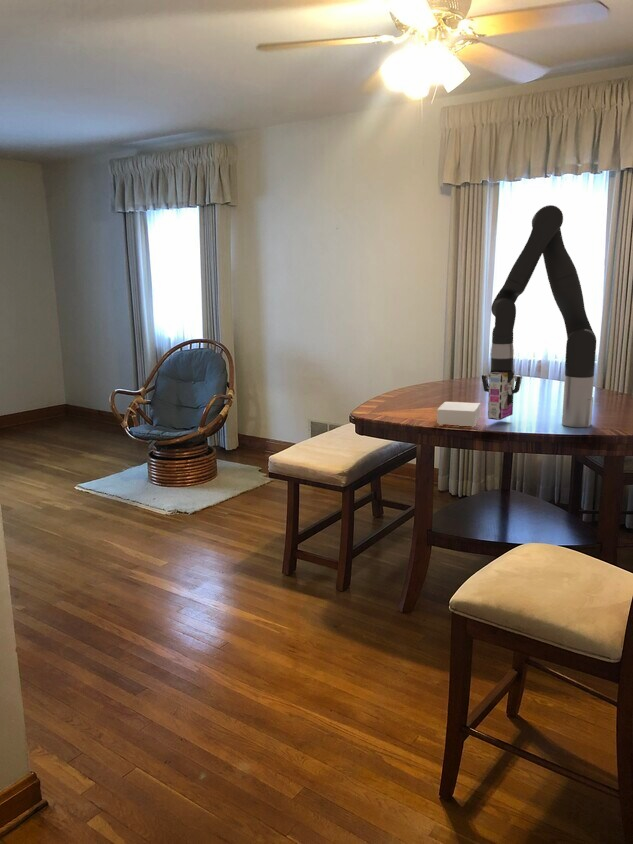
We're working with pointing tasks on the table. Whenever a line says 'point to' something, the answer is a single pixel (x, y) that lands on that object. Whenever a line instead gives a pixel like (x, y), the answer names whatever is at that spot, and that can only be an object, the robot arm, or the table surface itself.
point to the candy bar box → (499, 396)
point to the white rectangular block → (458, 413)
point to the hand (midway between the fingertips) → (501, 403)
